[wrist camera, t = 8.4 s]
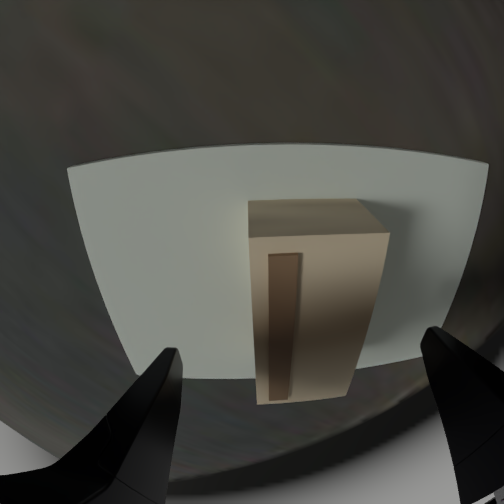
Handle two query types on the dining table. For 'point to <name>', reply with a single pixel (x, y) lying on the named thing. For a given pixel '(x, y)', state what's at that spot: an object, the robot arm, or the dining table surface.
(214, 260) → the sage mat
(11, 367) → the dining table surface
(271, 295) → the grooved tan block
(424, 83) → the dining table surface
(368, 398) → the dining table surface
